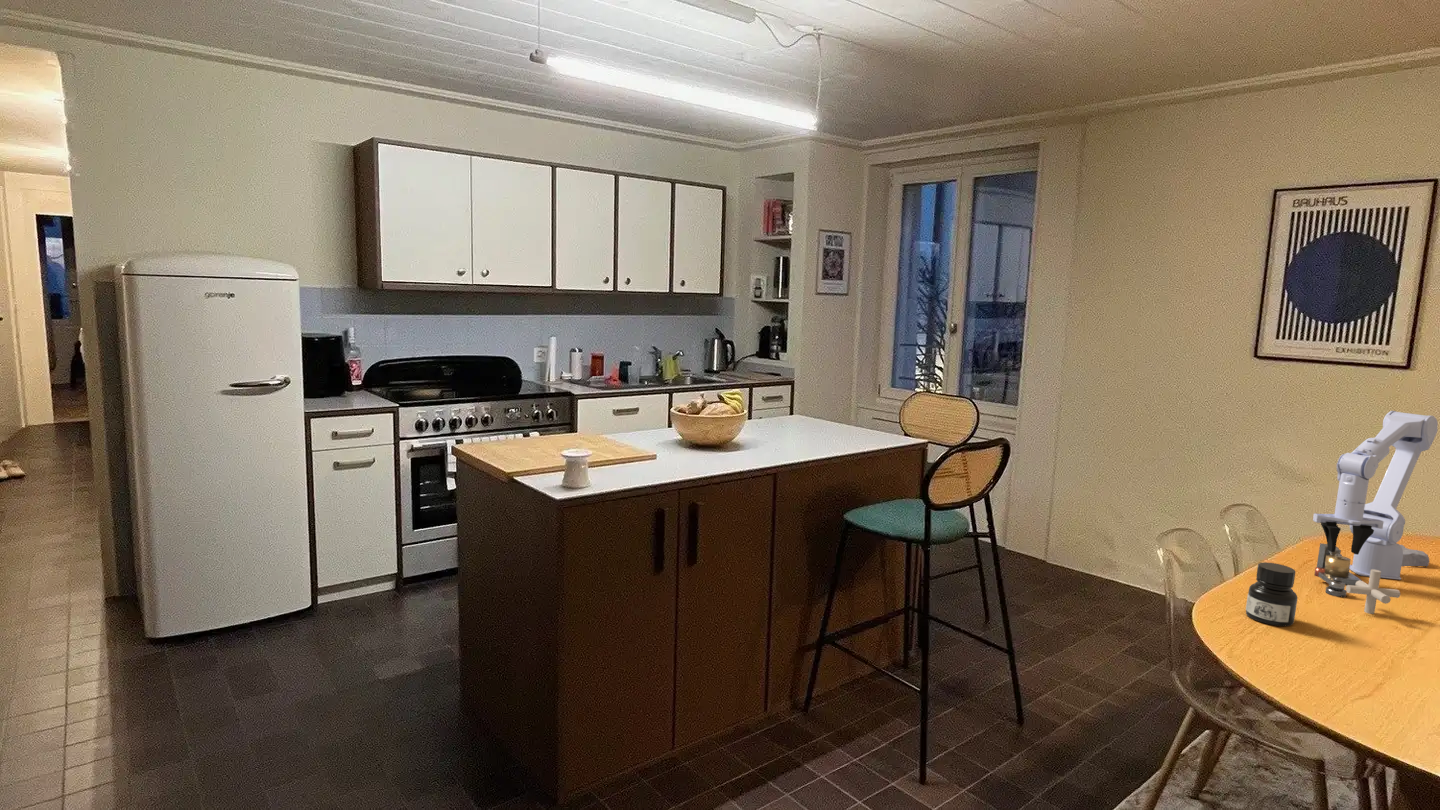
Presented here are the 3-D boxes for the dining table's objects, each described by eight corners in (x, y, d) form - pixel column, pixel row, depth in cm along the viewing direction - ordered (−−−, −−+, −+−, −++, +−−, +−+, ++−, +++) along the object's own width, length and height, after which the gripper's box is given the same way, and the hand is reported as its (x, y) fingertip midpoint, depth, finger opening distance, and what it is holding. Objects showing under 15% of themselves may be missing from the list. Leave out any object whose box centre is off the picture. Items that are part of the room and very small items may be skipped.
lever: (1324, 575, 202) (1325, 567, 202) (1346, 591, 191) (1348, 583, 191) (1310, 574, 203) (1311, 566, 202) (1332, 589, 192) (1333, 581, 192)
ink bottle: (1235, 615, 177) (1242, 563, 176) (1254, 607, 182) (1261, 557, 180) (1284, 631, 169) (1292, 577, 168) (1303, 623, 174) (1311, 571, 172)
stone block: (1396, 573, 217) (1433, 567, 216) (1395, 556, 216) (1432, 550, 216) (1362, 560, 229) (1397, 555, 228) (1360, 544, 228) (1396, 539, 228)
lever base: (1340, 592, 195) (1343, 576, 194) (1349, 598, 191) (1351, 582, 190) (1322, 590, 196) (1324, 574, 195) (1330, 595, 192) (1332, 580, 191)
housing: (1343, 571, 205) (1345, 552, 205) (1352, 577, 201) (1354, 558, 200) (1320, 569, 207) (1322, 550, 206) (1329, 575, 202) (1331, 556, 201)
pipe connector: (1408, 623, 176) (1415, 580, 175) (1357, 618, 178) (1364, 575, 177) (1380, 606, 186) (1387, 565, 185) (1332, 601, 188) (1339, 561, 186)
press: (1337, 570, 211) (1341, 545, 210) (1361, 586, 199) (1365, 559, 198) (1307, 567, 213) (1311, 542, 212) (1329, 582, 201) (1333, 556, 200)
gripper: (1325, 501, 199) (1317, 553, 200) (1393, 507, 195) (1384, 560, 197) (1312, 494, 205) (1304, 545, 207) (1377, 500, 202) (1369, 551, 204)
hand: (1342, 552), depth 203 cm, fingers open, 5 cm apart
